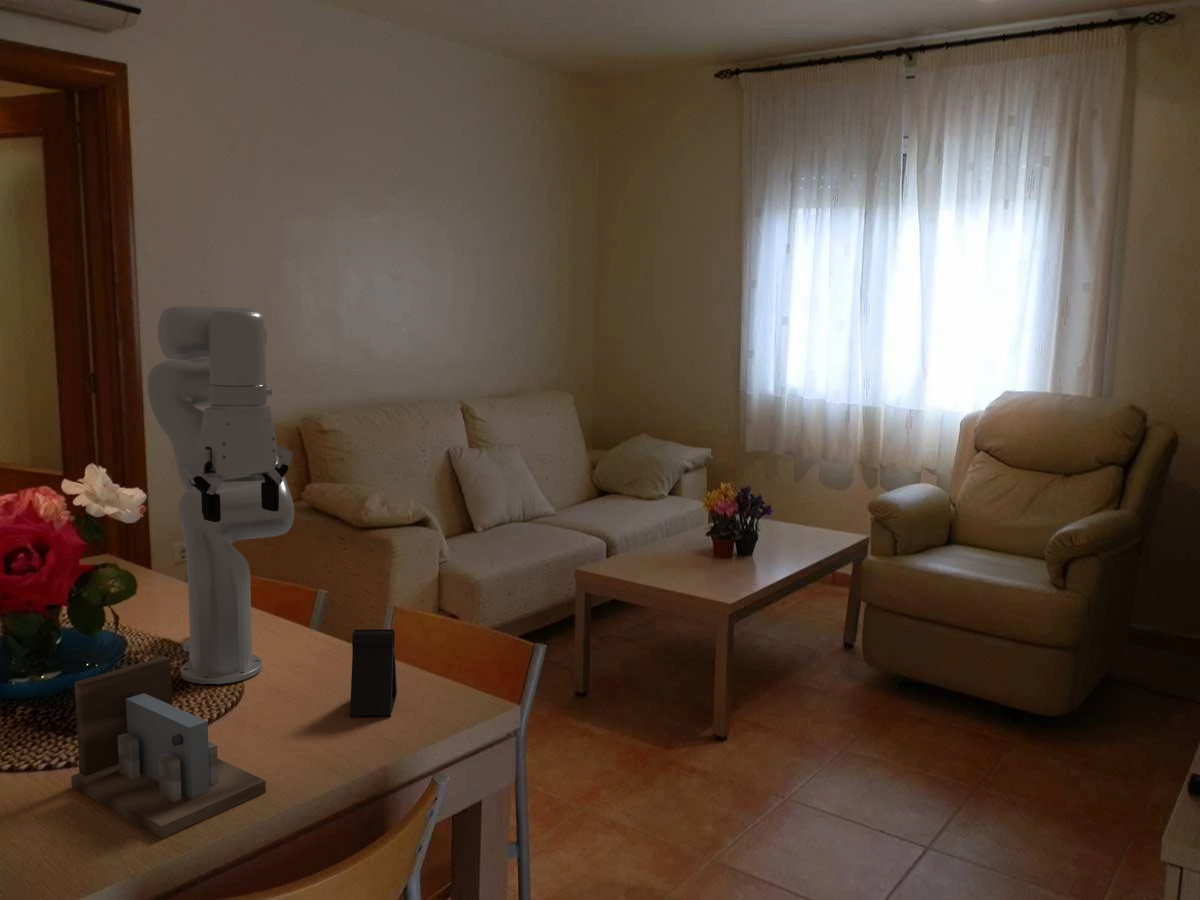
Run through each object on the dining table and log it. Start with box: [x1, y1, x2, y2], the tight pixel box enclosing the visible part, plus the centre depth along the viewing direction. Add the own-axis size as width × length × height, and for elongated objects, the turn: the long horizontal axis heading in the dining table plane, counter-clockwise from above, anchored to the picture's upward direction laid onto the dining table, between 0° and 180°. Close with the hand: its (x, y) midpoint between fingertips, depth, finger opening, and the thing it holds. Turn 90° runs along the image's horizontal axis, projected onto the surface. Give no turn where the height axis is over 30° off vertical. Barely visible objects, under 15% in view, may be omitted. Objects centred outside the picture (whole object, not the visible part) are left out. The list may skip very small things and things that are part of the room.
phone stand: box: [349, 628, 398, 718], centre depth 152 cm, size 9×6×12 cm, turn 5°
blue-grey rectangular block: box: [126, 693, 210, 798], centre depth 125 cm, size 14×3×9 cm, turn 55°
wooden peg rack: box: [71, 655, 267, 839], centre depth 125 cm, size 20×14×14 cm
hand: (241, 515), depth 144 cm, fingers open, 9 cm apart
